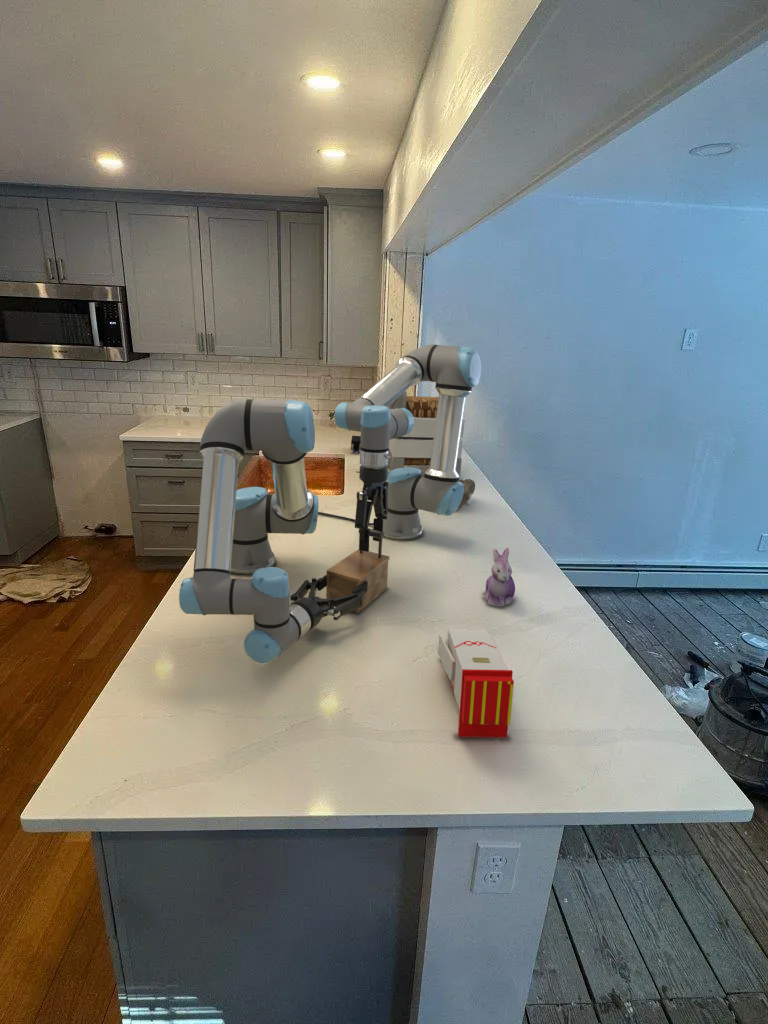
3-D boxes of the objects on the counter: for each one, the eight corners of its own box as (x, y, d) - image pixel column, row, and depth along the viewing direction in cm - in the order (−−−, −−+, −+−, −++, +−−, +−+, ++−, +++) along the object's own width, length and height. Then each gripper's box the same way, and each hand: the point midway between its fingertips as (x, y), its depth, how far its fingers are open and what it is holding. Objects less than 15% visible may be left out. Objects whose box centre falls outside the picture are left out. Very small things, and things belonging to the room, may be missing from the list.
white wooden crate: (382, 463, 289) (386, 382, 275) (445, 464, 293) (451, 384, 279) (390, 482, 257) (394, 392, 243) (460, 483, 261) (468, 394, 247)
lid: (359, 551, 162) (359, 523, 159) (389, 559, 158) (391, 530, 155) (326, 573, 148) (326, 543, 145) (358, 583, 144) (360, 551, 141)
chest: (356, 580, 165) (357, 552, 162) (386, 588, 161) (388, 560, 158) (326, 603, 151) (326, 573, 148) (358, 613, 147) (359, 583, 144)
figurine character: (362, 457, 305) (363, 447, 318) (362, 443, 301) (363, 434, 315) (350, 456, 304) (351, 447, 318) (350, 443, 301) (351, 434, 314)
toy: (488, 613, 130) (523, 677, 101) (484, 667, 133) (517, 744, 104) (435, 612, 130) (455, 676, 101) (432, 666, 133) (451, 743, 103)
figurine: (497, 611, 151) (503, 559, 146) (474, 594, 159) (479, 545, 154) (524, 604, 155) (532, 554, 150) (501, 588, 163) (507, 540, 158)
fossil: (439, 484, 243) (468, 465, 238) (451, 501, 246) (481, 483, 241) (438, 506, 224) (470, 486, 219) (452, 524, 226) (484, 505, 221)
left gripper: (261, 619, 137) (313, 583, 156) (340, 646, 127) (385, 604, 146) (260, 591, 134) (313, 558, 153) (340, 617, 125) (387, 578, 143)
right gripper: (367, 476, 139) (364, 561, 147) (403, 459, 156) (398, 536, 164) (341, 471, 142) (340, 555, 150) (379, 455, 159) (376, 531, 167)
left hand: (348, 581), depth 149 cm, fingers closed on chest, 10 cm apart
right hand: (370, 545), depth 157 cm, fingers open, 7 cm apart
